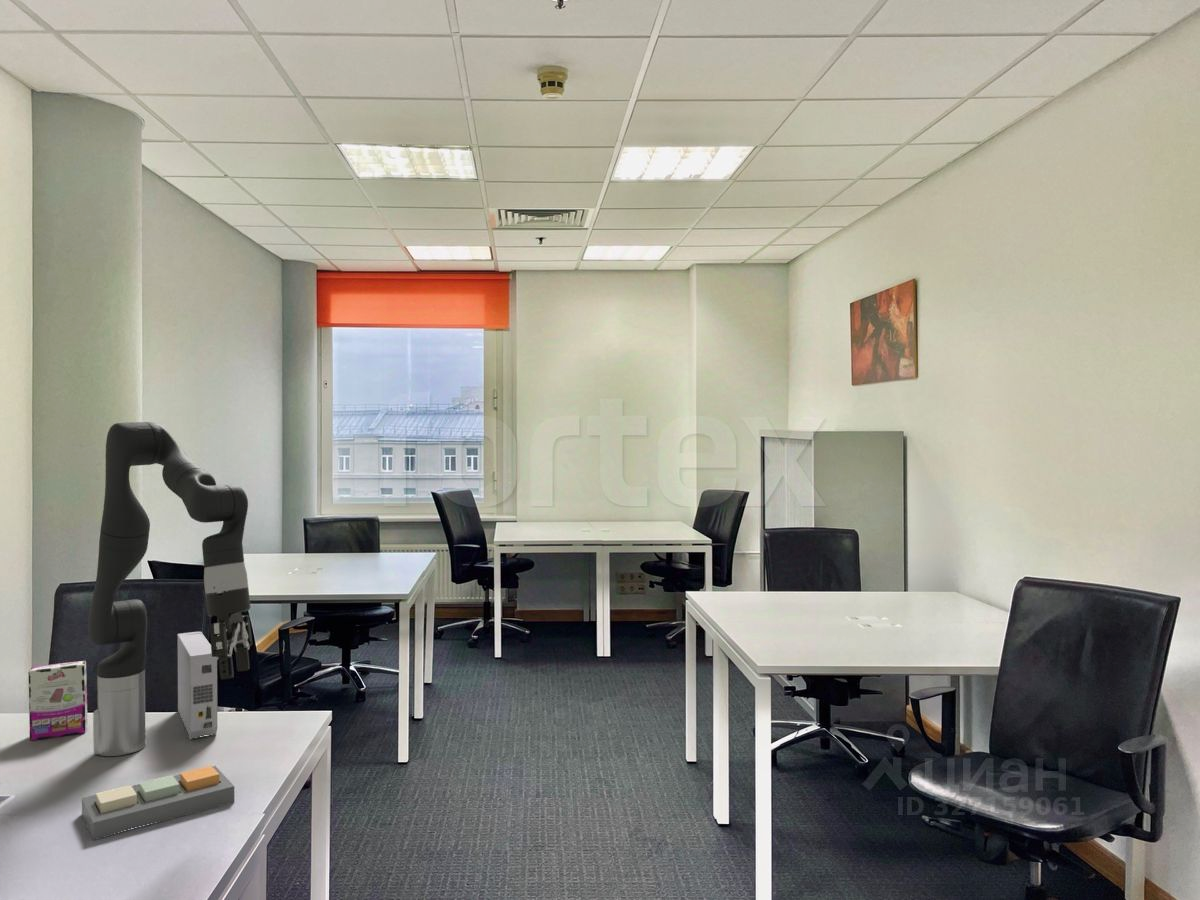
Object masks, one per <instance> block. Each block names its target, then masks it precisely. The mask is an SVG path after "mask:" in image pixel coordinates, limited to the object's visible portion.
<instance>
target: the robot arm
mask: <svg viewBox="0 0 1200 900" xmlns="http://www.w3.org/2000/svg"><path fill="white" fill-rule="evenodd" d="M105 441H106V442H105V484H104V485H105V488H104V498H103V499H104V500H103V509H102V510H103V511H102V518H101V523H100V531H99V542H98V558H97V569H96V578H95V582H94V583H95V585H94V589H93V594H92V599H91V605H90V610H89V616H88V636H89V640H90V641H91V643H92V644H93V645H95V646H107V645H109V646H110V645H115V644H120V643H124V644H123V646H122V647H121V648H120V649H119V650H118V651H116V652H115V653H113V654H111V655H109V656H108V657H106V658H104V659H102V660H100V661H99V662H98V664H97V666H96V667H97V668H96V669H97V670H96V674H97V675H96V677H97V678H96V680H97V681H96V683H97V684H96V685H97V688H96V689H97V709H95V710H94V711H93V713H92V715H93V716H92V720H93V722H92V723H93V728H92V729H93V731H92V732H93V733H92V734H93V737H92V738H93V755H99V756H101V757H102V756H103V757H119V756H125V755H129V754H132V753H135V752H139V751H140V750H142V749H144V748H145V747H146V736H147V735H146V658H147V654H146V653H147V632H148V611H147V608H146V606H145V603H144V602H143V601H142V600H141V599H135V598H134V599H127V600H125V599H124V600H118V601H115V598H116V596H117V593H118V591H119V589H120V587H121V586H122V584H123V583H124V581H126V578H128V577H129V575H130V574H131V573H132V572H133V571H134V569H135V568H136V567H138V565H139V563H141V561H142V559H143V558H144V556H145V554H146V553H147V551H148V548H149V545H148V544H149V539H150V538H149V536H150V530H151V521H150V518H149V516H148V514H147V512H146V510H145V509H144V507H143V506H142V504H141V502H140V501H139V500H138V498H137V497H136V495H135V494H134V492H133V489H132V486H131V484H130V483H131V482H130V470H131V467H134V466H136V467H137V466H138V467H139V466H151V465H161V466H163V467H162V472H161V473H162V480H163V482H164V484H165V486H166V487H167V488H168V489H169V490H170V491H171V492H172V493H173V494H175V495H176V496H177V497H178V498H180V499H181V500H182V503H183V505H184V506H185V509H186V511H187V513H188V515H189V517H190V519H192V520H194V521H197V522H199V523H202V524H203V523H204V524H205V523H218V522H222V526H221V529H220V531H219V532H218V533H216V534H215V533H214V534H211V535H209V536H207V537H205V538H203V540H202V543H201V548H202V549H201V550H202V560H203V561H202V562H203V568H204V569H203V570H204V571H203V573H204V574H203V583H204V584H203V585H204V594H205V604H206V614H207V616H208V617H210V618H213V617H216V618H217V619H216V620H217V622H214V623H210V624H209V636H210V637H209V638H210V645H211V652H212V657H216V658H217V659H218V660H217V662H218V667H219V668H218V670H219V677H220V680H227V679H232V678H234V676H235V672H234V663H233V662H234V661H233V656H232V655H233V650H234V652H235V653H234V654H235V664H236V665H235V666H236V671H237V672H245V671H248V670H250V668H251V666H250V657H249V655H250V653H249V650H250V648H251V647H250V646H252V645H253V638H252V637H253V636H252V629H251V623H250V622H251V621H250V616H249V614H247V615H243V614H242V613H243V612H248V611H249V610H250V609H251V600H250V599H251V598H250V589H249V582H248V581H249V580H248V572H247V569H246V565H245V557H244V547H243V540H244V539H243V538H244V533H245V532H244V531H245V525H246V519H247V515H248V509H249V501H248V499H249V498H248V495H247V494H246V492H245V490H244V489H243V488H242V487H241V486H239V485H237V484H219V485H218V484H217V482H216V480H215V478H214V477H213V475H212V474H211V473H209V472H208V471H207V470H205V468H203V467H202V466H200V465H199V464H197V463H196V462H195V461H194V460H193V459H191V458H190V457H189V456H188V454H187V453H186V451H185V450H183V448H182V446H181V445H180V444H179V443H178V441H177V440H176V439H175V437H173V435H172V434H171V432H169V430H167V428H166V427H164V426H163V425H162V424H159V423H158V422H152V421H144V422H142V421H139V422H138V421H137V422H136V421H135V422H130V421H129V422H116V423H114V424H112V425H111V426H110V427H109V429H108V432H107V436H106V440H105Z"/></svg>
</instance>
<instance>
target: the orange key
mask: <svg viewBox="0 0 1200 900" xmlns="http://www.w3.org/2000/svg"><path fill="white" fill-rule="evenodd" d="M179 775H180V784H181V785H182V786H183V787H184V789H185V790H186V791H190V790H194V789H198V788H202V787H206V786H210V785H214V784H218V783H219V773H218V772H217V771H216V770H215V769H214V768H213V765H208V766H204V767H200V768H195V769H191V770H187V771H186V770H185V771H181V772H180V773H179Z"/></svg>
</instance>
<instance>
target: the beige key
mask: <svg viewBox="0 0 1200 900" xmlns="http://www.w3.org/2000/svg"><path fill="white" fill-rule="evenodd" d="M132 786H133V785H131V784H129V785H124V786H120V787H117V788H113V789H108V790H104V791H100V792H96V793H95V795H96V806H97V808H98V810H99V812H100V813H104V812H108V811H112V810H115V809H119V808H123V807H127V806H131V805H135V804H137V794H136V792H135V791H134V789H133V788H132Z"/></svg>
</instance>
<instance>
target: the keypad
mask: <svg viewBox="0 0 1200 900" xmlns="http://www.w3.org/2000/svg"><path fill="white" fill-rule="evenodd" d="M212 767H213V768H214V769H215V770H216V771H217V772H218V773H219V783H218V784H214V785H210V786H206V787H202V788H198V789H194V790H190V791H186V790H185V789H184V787H183V786H182V785H181V784H180V774H176V775H173V777H174V778H175V779H176V780H177V782H178V783H179V793H178V794H174V795H170V796H167V797H163V798H159V799H155V800H151V801H147V802H144V800H143V798H142V797H141V795H140V794H139V784H133V785H131V786H132V788H133V789H134V791H135V792H136V794H137V804H135V805H131V806H127V807H123V808H119V809H115V810H112V811H108V812H104V813H100V812H99V810H98V808H97V806H96V794H93V795H88V796H85V797H81V815H83V816H82V818H83V820H84V822H85V824H87V825H86V826H88V827H87V828H88V831H89V834H90V833H91V834H90V836H91V835H92V836H91V837H92V840H93V841H94V839H96V840H98V839H97V838H99V839H102V838H101V837H103V838H105V837H104V836H107V837H109V836H108V835H111V834H114V833H118V832H121V831H124V830H128V829H131V828H135V827H139V826H143V825H147V824H151V823H155V822H158V823H160V822H159V821H162V822H165V821H164V820H166V821H168V820H167V819H169V820H172V819H171V818H173V819H176V818H175V817H177V818H180V817H184V816H188V815H191V813H192V814H194V812H195V813H198V812H197V811H199V812H202V811H201V810H203V811H206V810H209V808H210V809H213V808H217V807H220V806H224V805H229V804H231V803H232V804H233V803H235V785H234V784H233V783H232V782H231V781H230V780H229V779H228V778H227V777H226V775H225V774H224V773H223V772H222V771H221V770H220V769H219V768H218V767H217V766H216V765H212ZM205 809H206V810H205ZM187 814H188V815H187ZM183 815H184V816H183ZM179 816H180V817H179ZM155 824H156V823H155ZM151 825H152V824H151ZM147 826H148V825H147ZM118 834H119V833H118ZM114 835H115V834H114ZM111 836H112V835H111Z"/></svg>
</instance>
